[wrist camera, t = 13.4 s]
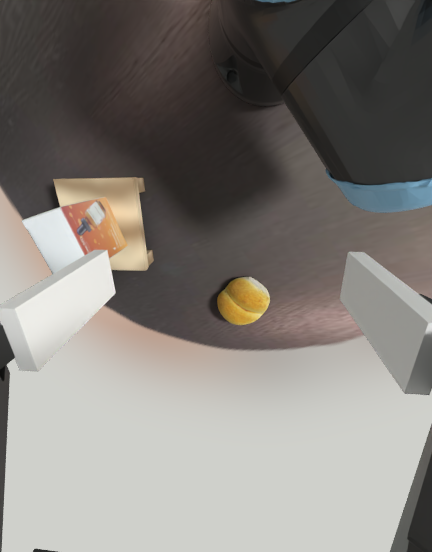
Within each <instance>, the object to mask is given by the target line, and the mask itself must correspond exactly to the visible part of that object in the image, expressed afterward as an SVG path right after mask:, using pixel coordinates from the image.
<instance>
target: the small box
mask: <svg viewBox="0 0 432 552" xmlns="http://www.w3.org/2000/svg"><path fill="white" fill-rule="evenodd" d="M22 223H23V224H24V226H25V227H26V229H27V230H28V232H29V234H30V235H31V237H32V239H33V240H34V242H35V244H36V246H37V247H38V249H39V251H40V253H41V254H42V256H43V258H44V259H45V261H46V263H47V265H48V267H49V268H50V270H51V272H52V274H54V273H56V272H57V271H59V270H61V269H62V268H64V267H66V266H68V265H69V264H71V263H73V262H74V261H76V260H78V259H80V258H81V257H83V256H85V255H86V254H88V253H90V252H92V251H93V250H107V251H108V256H109V259H110V258H111V257H113V256H114V255H116V254H117V253H119V252H120V251H122V250H123V249H125V248H126V247H128V245H127V243H126V241H125V239H124V237H123V235H122V232H121V230H120V228H119V226H118V223H117V221H116V219H115V216H114V214H113V212H112V210H111V207H110V205H109V202H108V200H107V198H106V197H101V198H96V199H92V200H88V201H83V202H79V203H75V204H70V205H66V206H62V207H58V208H55V209H53V210H50V211H47V212H44V213H41V214H38V215H35V216H32V217H30V218H27V219H24V220H22Z"/></svg>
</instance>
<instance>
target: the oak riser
mask: <svg viewBox="0 0 432 552" xmlns="http://www.w3.org/2000/svg"><path fill="white" fill-rule="evenodd" d="M53 180H54V184H55V188H56V192H57V196H58V200H59V204H60V207H62V206H66V205H70V204H75V203H79V202H83V201H88V200H92V199H96V198H101V197H106V198H107V200H108V202H109V205H110V207H111V210H112V212H113V214H114V216H115V219H116V221H117V223H118V226H119V228H120V230H121V232H122V235H123V237H124V239H125V241H126V243H127V245H128V247H126V248H125V249H123V250H122V251H120V252H119V253H117V254H116V255H114V256H113V257H111V258H110V259H109V261H110V267H111V270H147V269H148V267H149V265H150V264H151V263H152V262H153V253H152V250H146V243H145V236H144V228H143V221H142V213H141V205H140V198H139V193H141V192H144V191H145V188H144V180H143V178H137V177H125V178H77V179H53Z"/></svg>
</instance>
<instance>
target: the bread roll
mask: <svg viewBox="0 0 432 552" xmlns="http://www.w3.org/2000/svg"><path fill="white" fill-rule="evenodd" d="M269 302H270V296H269V293H268V291H267V289H266V288H265V287H264V286H263V285H262V284H261V283H259V282H258V281H257V280H255V279H254V278H252V277H241V278H236V279H234V280H233V281H231V282H230V283H229V284H228V286H227V287H226V288H225V290H223V291H222V292H221V293H220V294H219V296H218V299H217V304H218V309H219V311H220V313H221V314H222V316H223V317H224V318H225V319H226V320H227V321H228V322H230V323H232V324H236V325H245V324H249V323H252V322H254V321H256V320H257V319H259V318H260V317H261V316H262V314H263V313H264V312H265V311H266V310H267V308H268V305H269Z"/></svg>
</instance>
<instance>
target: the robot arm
mask: <svg viewBox="0 0 432 552" xmlns="http://www.w3.org/2000/svg"><path fill="white" fill-rule="evenodd" d="M208 34H209V45H210V50H211V54H212V58H213V61H214V64H215V67H216V70H217V72H218V74H219V76H220V78H221V79H222V81H223V83H224V84H225V85H226V87H227V88H228V89H229V90H230V91H231V92H232V93H233V94H234V95H236V96H237V97H238V98H240V99H241V100H243V101H245V102H247V103H250V104H253V105H258V106H273V105H278V104H282V103H285V104H286V106H287V107H288V109H289V110H290V112H291V113H292V115H293V117H294V118H295V120H296V121H297V123H298V125H299V126H300V128H301V129H302V131H303V132H304V134H305V136H306V137H307V139H308V140H309V142H310V144H311V145H312V147H313V148H314V150H315V151H316V153H317V155H318V156H319V158H320V159H321V161H322V162H323V164H324V166H325V167H326V173H327V175H328V177H329V178H330V179H331V180H332V181H333V182H334V183H336V184H337V185H338V187H339V188H340V190H341V191H342V193H343V194H344V195H345V197H346V198H347V199H348V201H349V202H350V203H351V204H353V205H354V206H357V207H359V208H360V209H363V210H366V211H370V212H380V213H389V212H400V211H407V210H412V209H417V208H422V207H426V206H429V205H432V0H212V2H211V7H210V12H209V24H208ZM114 294H115V287H114V282H113V277H112V272H111V267H110V261H109V256H108V251H107V250H93V251H92V252H90V253H88V254H86V255H85V256H83V257H81V258H80V259H78V260H76V261H74V262H73V263H71V264H69V265H68V266H66V267H64V268H62V269H61V270H59V271H57V272H56V273H54V274H52V275H50V276H49V277H47V278H45V279H44V280H42V281H40V282H38V283H37V284H35V285H33V286H31V287H30V288H28V289H27V290H25V291H23V292H21V293H19V294H18V295H16V296H14V297H13V298H11V299H9V300H7V301H6V302H4V303H2V304H1V305H0V552H1V548H2V526H3V506H4V483H5V463H6V442H7V420H8V399H9V378H10V372H9V370H8V367H7V364H8V363H9V362H10V361H11V360H12V359H14V358H15V360H16V363H17V365H18V368H19V370H22V371H39V370H40V369H41V368H42V367H43V366H44V365H45V364H46V363H47V362H48V361H49V360H50V359H51V358H52V357H53V356H54V355H55V354H56V353H57V352H58V351H59V350H60V349H61V348H62V347H63V346H64V345H65V344H66V343H67V341H69V340H70V339H71V337H73V336H74V335H75V334H76V332H78V331H79V330H80V329H81V328H82V327H83V326H84V325H85V324H86V323H87V322H88V320H89V319H90V318H91V317H92V316H93V315H94V314H95V313H96V312H97V311H98V310H99V309H100V308H101V307H102V306H103V305H104V304H105V303H106V302H107V301H108V300H109V299H110V298H111V297H112V296H113V295H114ZM340 300H341V302H342V303H343V305H344V306H345V307H346V309H347V310H348V312H349V313H350V315H351V316H352V318H353V319H354V321H355V322H356V324H357V325H358V326H359V328H360V329H361V331H362V332H363V334H364V335H365V337H366V338H367V340H368V341H369V342H370V344H371V345H372V347H373V348H374V350H375V351H376V353H377V354H378V356H379V357H380V359H381V360H382V362H383V363H384V364H385V366H386V367H387V369H388V370H389V372H390V373H391V374H392V376H393V378H394V379H395V380H396V382H397V383H398V385H399V386H400V388H401V389H402V391H403V392H404V393H405V394H421V395H429V394H430V392H431V389H432V299H431V298H428V297H426V296H424V295H422V294H418V293H416V292H415V291H414V290H412V289H411V288H410V287H409V286H407V285H406V284H405V283H403V282H402V281H401V280H399V279H398V278H397V277H396V276H394V275H393V274H392V273H390V272H389V271H388V270H386V269H385V268H384V267H382V266H381V265H380V264H379V263H377V262H376V261H375V260H373V259H372V258H371V257H369V256H368V255H367V254H366V253H364V252H348V256H347V261H346V267H345V272H344V278H343V283H342V289H341V295H340ZM33 552H55V551H48V550H41V549H34V550H33ZM390 552H432V425H431V428H430V431H429V434H428V437H427V441H426V443H425V446H424V449H423V452H422V455H421V458H420V461H419V465H418V468H417V471H416V474H415V477H414V480H413V483H412V486H411V489H410V492H409V495H408V498H407V501H406V504H405V507H404V510H403V513H402V516H401V519H400V523H399V526H398V529H397V532H396V535H395V538H394V541H393V544H392V547H391V550H390Z"/></svg>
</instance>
